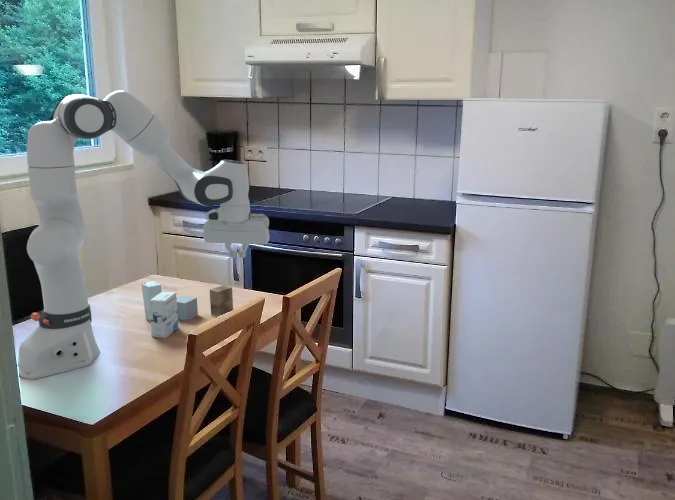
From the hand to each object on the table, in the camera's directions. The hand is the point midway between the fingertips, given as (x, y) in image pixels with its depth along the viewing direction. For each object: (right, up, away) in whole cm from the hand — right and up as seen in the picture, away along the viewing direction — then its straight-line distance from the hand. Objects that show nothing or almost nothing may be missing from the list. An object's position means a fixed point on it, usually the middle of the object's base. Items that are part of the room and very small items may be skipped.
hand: (237, 257), depth 196 cm
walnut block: (-7, -19, +11) cm, 23 cm away
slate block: (-19, -20, +10) cm, 29 cm away
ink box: (-21, -23, -4) cm, 32 cm away
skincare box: (-28, -20, +7) cm, 35 cm away
